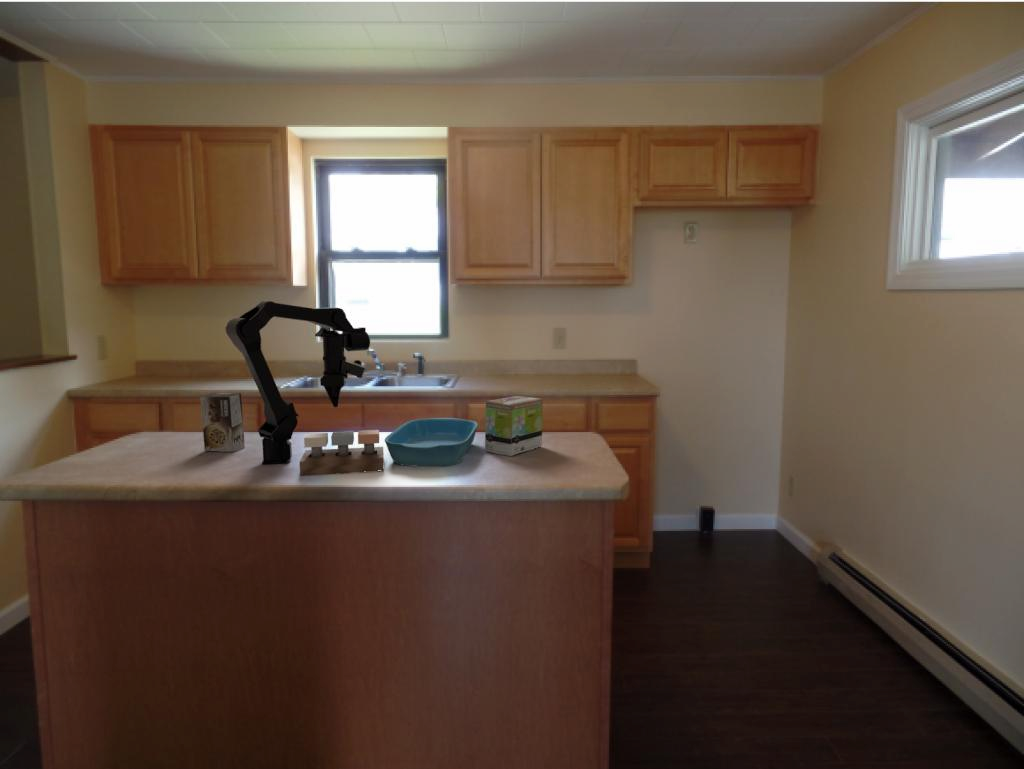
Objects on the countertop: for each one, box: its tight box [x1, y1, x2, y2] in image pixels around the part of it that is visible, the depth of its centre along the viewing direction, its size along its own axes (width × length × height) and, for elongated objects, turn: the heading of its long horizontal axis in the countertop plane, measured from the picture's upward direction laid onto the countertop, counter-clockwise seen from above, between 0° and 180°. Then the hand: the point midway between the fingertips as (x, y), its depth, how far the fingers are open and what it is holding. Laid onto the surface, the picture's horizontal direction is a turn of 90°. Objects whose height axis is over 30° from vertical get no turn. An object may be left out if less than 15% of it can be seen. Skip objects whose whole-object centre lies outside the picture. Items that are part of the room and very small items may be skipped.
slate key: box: [330, 430, 355, 456], centre depth 157 cm, size 5×5×6 cm
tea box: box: [484, 395, 544, 457], centre depth 176 cm, size 15×10×15 cm, turn 143°
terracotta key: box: [357, 429, 380, 455], centre depth 158 cm, size 5×5×6 cm
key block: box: [299, 446, 384, 476], centre depth 158 cm, size 20×12×4 cm, turn 102°
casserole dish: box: [384, 417, 478, 467], centre depth 172 cm, size 37×22×7 cm, turn 175°
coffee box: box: [199, 392, 246, 453], centre depth 176 cm, size 9×6×16 cm
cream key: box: [303, 432, 329, 457], centre depth 156 cm, size 5×5×6 cm
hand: (335, 406), depth 175 cm, fingers closed
